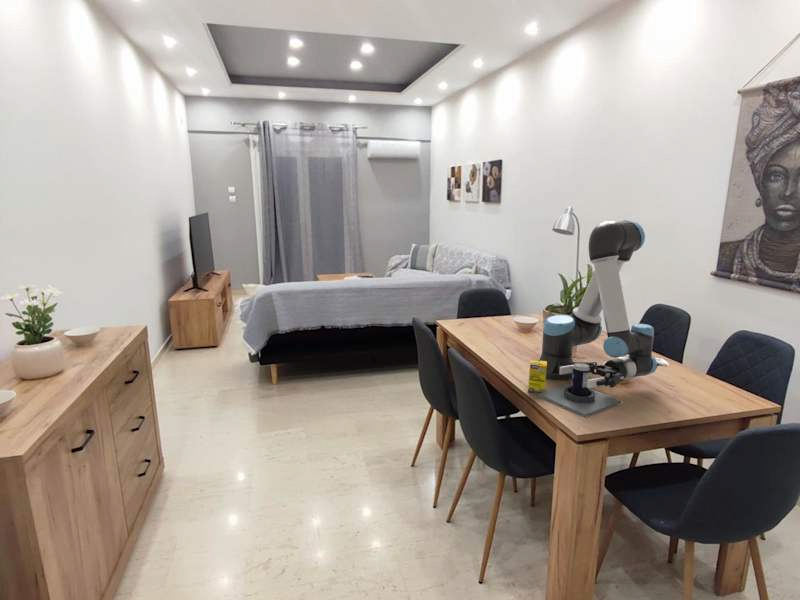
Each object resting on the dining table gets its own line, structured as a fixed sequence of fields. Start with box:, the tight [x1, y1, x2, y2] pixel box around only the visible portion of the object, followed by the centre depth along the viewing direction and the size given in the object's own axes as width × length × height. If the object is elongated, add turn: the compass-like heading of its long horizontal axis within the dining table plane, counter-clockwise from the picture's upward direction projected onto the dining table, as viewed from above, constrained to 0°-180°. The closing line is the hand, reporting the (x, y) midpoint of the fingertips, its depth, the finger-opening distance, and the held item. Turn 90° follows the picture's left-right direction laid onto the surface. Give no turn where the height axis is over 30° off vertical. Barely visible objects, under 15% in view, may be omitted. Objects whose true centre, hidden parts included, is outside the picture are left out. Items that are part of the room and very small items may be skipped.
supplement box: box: [527, 359, 547, 394], centre depth 174 cm, size 6×6×11 cm
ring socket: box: [537, 382, 623, 418], centre depth 167 cm, size 20×20×3 cm
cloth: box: [617, 355, 670, 367], centre depth 209 cm, size 22×19×6 cm
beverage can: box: [571, 363, 591, 397], centre depth 166 cm, size 6×6×12 cm
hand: (573, 377), depth 164 cm, fingers open, 13 cm apart
